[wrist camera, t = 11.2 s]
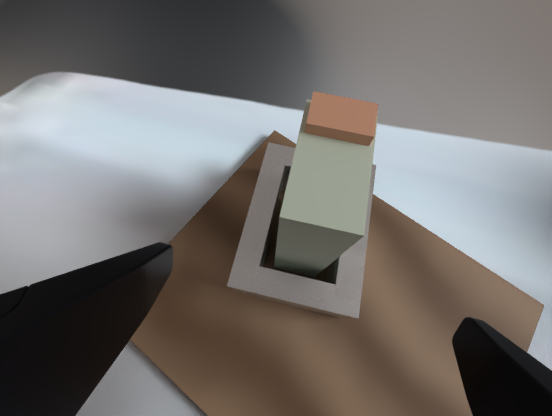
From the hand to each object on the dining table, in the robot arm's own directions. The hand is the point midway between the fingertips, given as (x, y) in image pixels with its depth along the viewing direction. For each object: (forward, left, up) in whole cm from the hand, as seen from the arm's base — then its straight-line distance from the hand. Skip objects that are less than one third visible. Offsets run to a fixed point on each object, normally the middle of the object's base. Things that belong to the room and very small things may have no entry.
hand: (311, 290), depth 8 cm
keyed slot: (+5, +2, -11) cm, 12 cm away
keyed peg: (+5, +2, -11) cm, 12 cm away
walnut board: (+2, -2, -12) cm, 13 cm away
